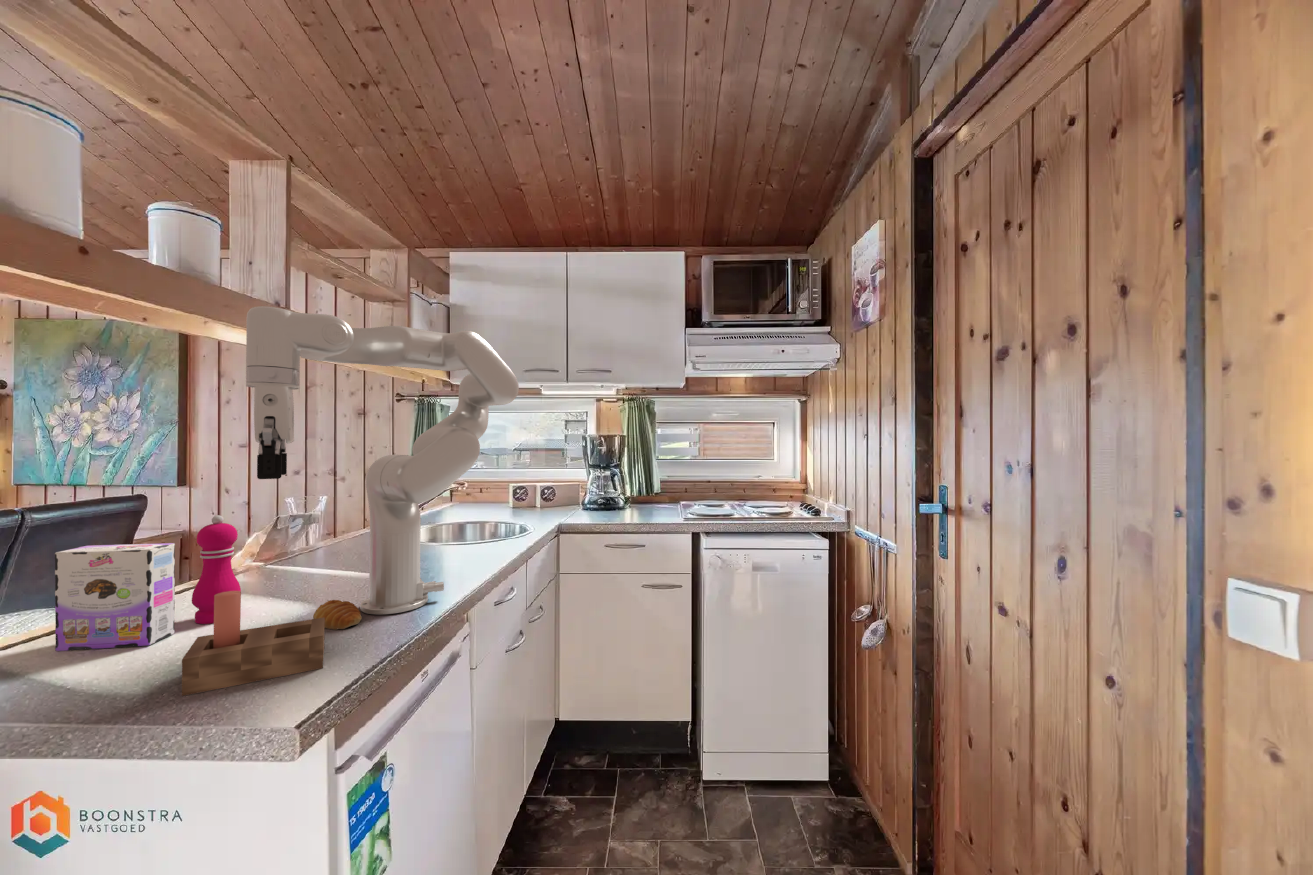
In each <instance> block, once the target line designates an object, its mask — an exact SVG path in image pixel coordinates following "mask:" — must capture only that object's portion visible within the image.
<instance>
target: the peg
mask: <svg viewBox="0 0 1313 875" xmlns="http://www.w3.org/2000/svg"><path fill="white" fill-rule="evenodd" d="M241 605H242V590H241V591H227V592H222V593H218V594H216V595H214V623H213V635H214V638H213V649H215V648H221V647H227V646H234V645H240V630H241V610H242V608H241V607H242V606H241Z"/></svg>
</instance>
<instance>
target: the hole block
mask: <svg viewBox="0 0 1313 875" xmlns="http://www.w3.org/2000/svg"><path fill="white" fill-rule="evenodd" d="M325 629H326V628H325V617H324V618H318V619H314V618H312V619H305V620H299V621H293V622H286V623H280V624H279V623H278V624H272V625H266V626H259V627H254V628H247V629H240V645H234V646H227V647H221V648H215V649H213V638H214V634H209V635H202V636H197V637H196V639H195V640H194V642H193V643H192V645H191V646H190V648H189V649H188V650H187V651H186V653H185V655H184V656H183V657H182V658H181V697H184V696H189V695H194V694H195V695H196V694H199V693H204V692H211V691H215V690H219V689H225V688H229V687H236V686H240V685H245V684H249V683H254V682H259V681H264V680H270V679H275V678H280V677H285V676H286V677H287V676H289V675H295V674H300V673H305V672H310V671H311V672H312V671H315V670H319V669H320V670H321V669H323V668H324V655H325V638H326V637H325V634H326V632H325Z"/></svg>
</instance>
